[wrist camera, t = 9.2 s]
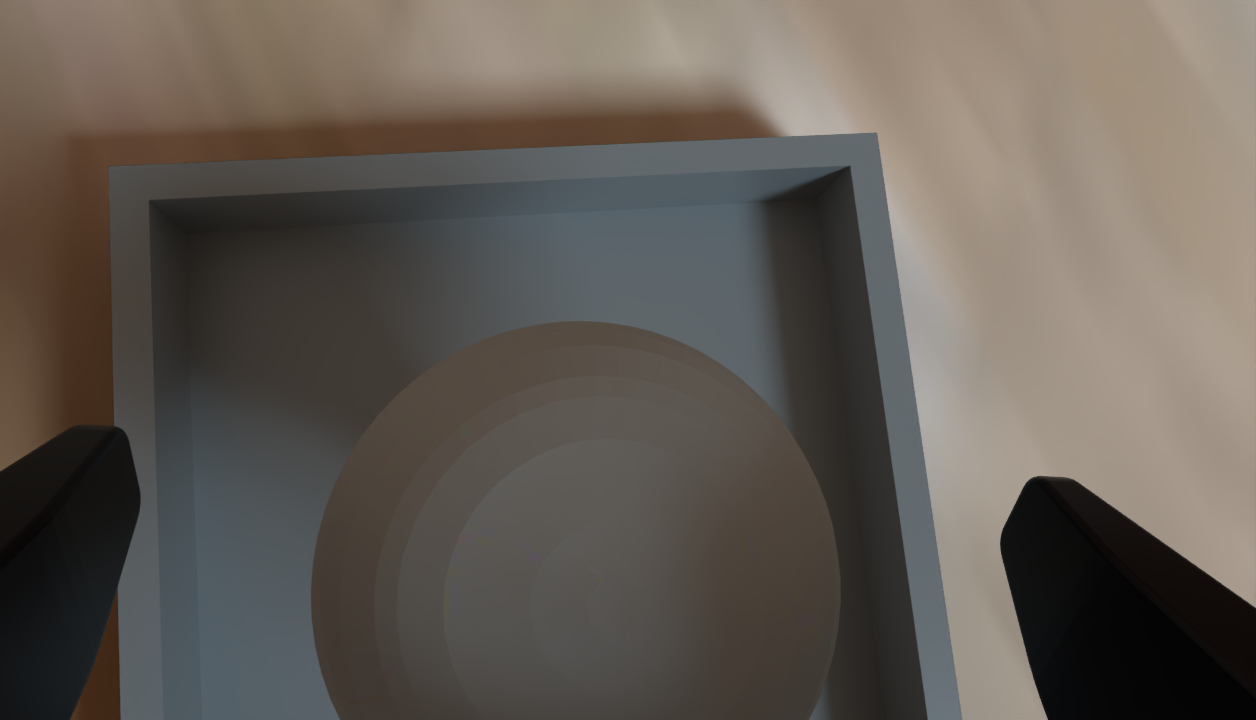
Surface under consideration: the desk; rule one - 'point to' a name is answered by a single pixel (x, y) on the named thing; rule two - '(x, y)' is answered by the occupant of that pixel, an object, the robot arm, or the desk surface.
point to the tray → (463, 315)
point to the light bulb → (576, 542)
